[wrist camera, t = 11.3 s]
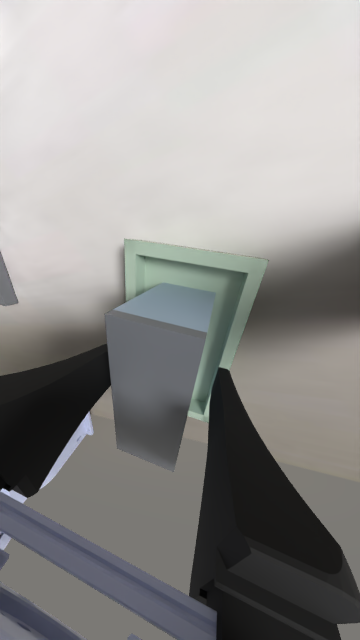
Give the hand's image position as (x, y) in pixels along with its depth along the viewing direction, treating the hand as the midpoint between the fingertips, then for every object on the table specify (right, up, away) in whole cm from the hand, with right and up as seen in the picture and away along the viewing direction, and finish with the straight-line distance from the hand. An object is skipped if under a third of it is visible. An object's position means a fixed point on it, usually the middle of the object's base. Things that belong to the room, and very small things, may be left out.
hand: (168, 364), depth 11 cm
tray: (+1, +2, +3) cm, 4 cm away
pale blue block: (+1, +1, +3) cm, 3 cm away
